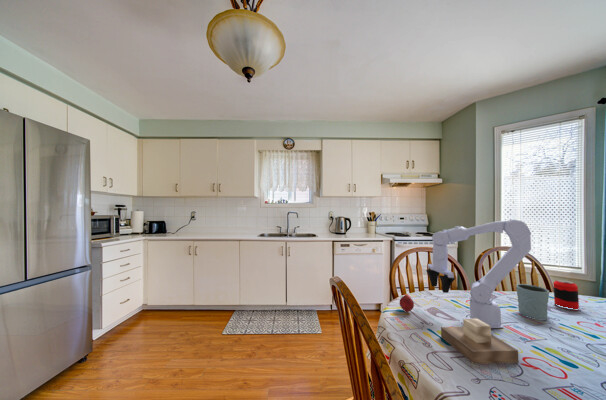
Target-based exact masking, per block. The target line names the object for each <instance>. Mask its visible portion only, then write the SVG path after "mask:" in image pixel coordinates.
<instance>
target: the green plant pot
mask: <svg viewBox="0 0 606 400" xmlns="http://www.w3.org/2000/svg"><path fill="white" fill-rule="evenodd" d="M515 286H516V287H515V288H516V295H517V302H518V313H519V314H520V313H521V314H523V315H525V316H524V317H526V316H528V317H527V318H529V317H531V318H530V319H532V318H535V319H534V320H537V319H546V320H547V319H548V313H549V312H548V307H549V305H548V303H549V296H550V290H548V289H546V288H544V287H541V286H537V285H532V284H525V283H517V284H515ZM521 314H520V315H521ZM523 315H522V316H523Z"/></svg>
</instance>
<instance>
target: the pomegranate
mask: <svg viewBox="0 0 606 400" xmlns="http://www.w3.org/2000/svg"><path fill="white" fill-rule="evenodd" d="M399 306H400V308H401V309H402V310H403V311H404V312H405V313H409V312H411V311H412V310H413V309H414V307H415V303H414V300H413V299H412V297H410V296H409V294H408V293H405V294H404V295H403V296H402V297H400V299H399Z"/></svg>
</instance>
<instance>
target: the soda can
mask: <svg viewBox="0 0 606 400" xmlns="http://www.w3.org/2000/svg"><path fill="white" fill-rule="evenodd" d="M552 285H553V299H554V300H553V302H554V305H555V304H557V305H560V306H563V307H568V308H573V309H578V308H579V309H580V301H579V288H578V287H579V286H578V285H577V284H576V283H575V282H573V281H570V280H565V279H556V280H555V281H554V282H553V283H552Z"/></svg>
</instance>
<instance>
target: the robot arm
mask: <svg viewBox="0 0 606 400" xmlns="http://www.w3.org/2000/svg"><path fill="white" fill-rule="evenodd" d="M492 232H495V233H500V234H504V233H505V234H506V235H507V236H508V237H509V241H510V244H511V247H509V248H508V249H507V250H506V252H505V253H504V254H503V255H502V256H501V258H499V260H498V261H497V262H496V263H494V265H493V266H492V267H491V268H490V269H489V270H488V272H487V273H486V274H485V275H483V276H482V277H481V278H480V279H479V280H476V281H474V282H472V284H471V285H470V291H469V293H470V295H469V316H470V317H464V319H479V320H481V321H482V322H484V323H486V324H488V325H490V326H491V329H503V328H504V326H503V325H502V316H501V315H502V314H501V313H502V312H501V308H500V306H499V304H498V303H497V302H496V301H494V300H491V298H492V294H493V293H494V291H495V290H496V288H497V286H498V285H499V284H501V282H502V281H503V280H504V279H505V278H506V277H507V276H508V275H509V274H510V272H512V271H513V270H514V269H515V267H516V266H517V265H518V264H519V263H520V262H521V261H522V260H523V259H525V257H526V256H527V255H528V254H529V253H530V252H531V250H532V241H531V239H532V238H531V235H532V232H531V230H530V228H529V227H528V224H526V223H525V222H523V221H522V220H518V219H508V220H498V221H497V220H496V221H492V222H487V223H484V224H480V225H474V226H472V227H471V226H470V227H468V228H467V227H464V226H459V225H456V226H454V227H453V228H449V229H442V230H441V231H436V232H435V233H433V234H432V236H431V237H432V238H431V240H432V246H433V247H432V263H428V264H427V269H426V273H427V275H428V278H429V282H430V285H431V287H437V286H438V281H439V279H440V283H441V291H442V293H444V294H448V293H449V291H450V289H451V285H452V284H453V282H454V281H455V280H456V278H455V277H454V275H455V274H454V272H452V271H450V270H449V269H448V266H449V265H448V260H449V259H448V257H449V255H448V253H449V252H448V251H449V249H448V243H450V244H451V243H457V242H460V241H461V242H462V241H467V240H468V239H469V237H470V236H475V235H481V234H485V233H492ZM440 274H441V275H440Z"/></svg>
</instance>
